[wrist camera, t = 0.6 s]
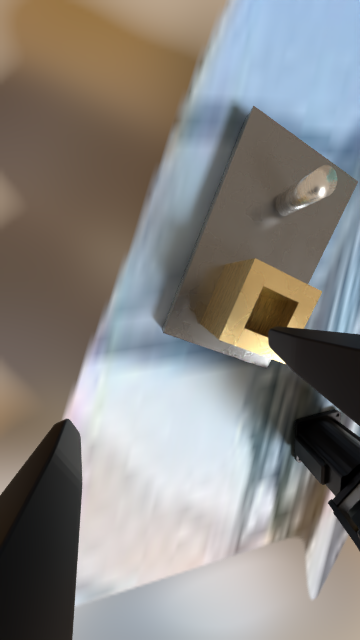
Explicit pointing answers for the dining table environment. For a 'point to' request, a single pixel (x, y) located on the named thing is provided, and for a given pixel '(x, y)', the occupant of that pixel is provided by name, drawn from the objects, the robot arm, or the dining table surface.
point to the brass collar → (257, 305)
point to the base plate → (261, 222)
